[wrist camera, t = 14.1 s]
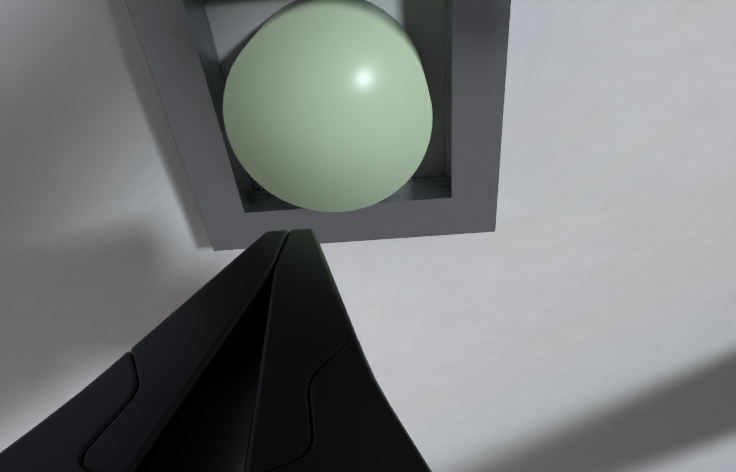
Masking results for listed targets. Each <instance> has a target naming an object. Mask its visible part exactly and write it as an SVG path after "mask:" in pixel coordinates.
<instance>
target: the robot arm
mask: <svg viewBox="0 0 736 472" xmlns="http://www.w3.org/2000/svg"><path fill="white" fill-rule="evenodd" d="M0 472H432V471H431V470H430V468H429V467H428V465H427V463H426V462H425V460H424V459H423V457H422V455H421V454H420V452H419V451H418V449H417V447H416V446H415V444H414V443H413V441H412V439H411V438H410V436H409V435H408V433H407V431H406V430H405V428H404V427H403V425H402V423H401V422H400V420H399V419H398V417H397V415H396V414H395V412H394V411H393V409H392V407H391V406H390V404H389V402H388V400H387V399H386V397H385V395H384V393H383V392H382V390H381V388H380V386H379V384H378V383H377V381H376V379H375V377H374V375H373V372H372V370H371V368H370V366H369V364H368V362H367V359H366V357H365V355H364V352H363V350H362V347H361V345H360V342H359V340H358V339H357V336H356V333H355V331H354V328H353V326H352V323H351V321H350V318H349V316H348V313H347V311H346V308H345V306H344V303H343V301H342V298H341V296H340V293H339V291H338V288H337V286H336V283H335V281H334V278H333V276H332V274H331V271H330V269H329V266H328V264H327V261H326V259H325V256H324V254H323V251H322V249H321V246H320V244H319V241H318V239H317V236H316V234H315V231H314V230H313V229H312V228H302V229H293V230H291V231H288V230H276V231H267V232H266V233H264V234H263V235H262V236H261V237H260V238H259V239H257V240H256V241H255V242H254V243H253V244H252V245H250V246H249V247H248V248H247V249H246V250H245V251H244V252H242V253H241V254H240V255H239V256H238V257H237V258H235V259H234V260H233V261H232V262H231V263H230V264H229V265H227V266H226V267H225V268H224V269H223V270H222V271H220V272H219V273H218V274H217V275H216V276H215V277H214V278H212V279H211V280H210V281H209V282H208V283H207V284H205V285H204V286H203V287H202V288H201V289H200V290H199V291H197V292H196V293H195V294H194V295H193V296H192V297H190V298H189V299H188V300H187V301H186V302H185V303H184V304H182V305H181V306H180V307H179V308H178V309H177V310H175V311H174V312H173V313H172V314H171V315H170V316H169V317H167V318H166V319H165V320H164V321H163V322H162V323H160V324H159V325H158V326H157V327H156V328H155V329H154V330H152V331H151V332H150V333H149V334H148V335H147V336H145V337H144V338H143V339H142V340H141V341H140V342H138V343H137V344H136V345H135V346H134V347H133V348H132V349H131V352H127V353H126V354H124V355H123V356H122V357H121V358H120V359H119V360H118V361H116V362H115V363H114V364H113V365H112V366H111V367H109V368H108V369H107V370H106V371H105V372H103V373H102V374H101V375H100V376H99V377H97V378H96V379H95V380H94V381H93V382H91V383H90V384H89V385H88V386H87V387H85V388H84V389H83V390H82V391H81V392H79V393H78V394H77V395H76V396H74V397H73V398H72V399H70V400H69V401H68V402H67V403H65V404H64V405H63V406H61V407H60V408H59V409H58V410H56V411H55V412H54V413H52V414H51V415H50V416H49V417H47V418H46V419H45V420H43V421H42V422H41V423H39V424H38V425H37V426H35V427H34V428H33V429H31V430H30V431H29V432H27V433H26V434H25V435H23V436H22V437H21V438H19V439H18V440H17V441H15V442H14V443H13V444H11V445H10V446H9V447H7V448H6V449H5V450H3V451H2V452H1V453H0Z"/></svg>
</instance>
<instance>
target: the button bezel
mask: <svg viewBox="0 0 736 472" xmlns="http://www.w3.org/2000/svg"><path fill="white" fill-rule="evenodd" d="M126 3H127V6H128V9H129V12H130V15H131V17H132V20H133V23H134V26H135V29H136V31H137V34H138V37H139V40H140V43H141V46H142V48H143V51H144V54H145V57H146V60H147V63H148V65H149V68H150V71H151V74H152V77H153V80H154V82H155V85H156V88H157V91H158V94H159V97H160V99H161V102H162V105H163V108H164V111H165V113H166V116H167V119H168V122H169V125H170V128H171V130H172V133H173V136H174V139H175V142H176V145H177V147H178V150H179V153H180V156H181V159H182V162H183V164H184V167H185V170H186V173H187V176H188V179H189V181H190V184H191V187H192V190H193V193H194V195H195V198H196V201H197V204H198V207H199V210H200V212H201V215H202V218H203V221H204V224H205V227H206V229H207V232H208V235H209V238H210V241H211V244H212V246H213V249H214V251H219V250H233V249H247V248H248V247H249V246H250V245H252V244H253V243H254V242H255V241H256V240H257V239H259V238H260V237H261V236H262V235H263V234H264V233H266V232H267V231H276V230H288V231H291V230H293V229H302V228H312V229H313V230H314V231H315V234H316V236H317V239H318V241H319V244H320V243H334V242H349V241H363V240H378V239H392V238H407V237H421V236H436V235H450V234H464V233H479V232H493V231H495V224H496V210H497V195H498V181H499V166H500V151H501V137H502V122H503V107H504V93H505V78H506V64H507V49H508V34H509V20H510V5H511V0H446V176H436V177H423V178H411V179H409V180H408V181H407V182H406V183H405V184H404V185H403V186H402V187H401V188H400V189H398V190H397V191H396V192H395V193H393V194H392V195H390V196H389V197H387V198H385V199H384V200H382V201H380V202H378V203H376V204H373V205H370V206H368V207H365V208H361V209H357V210H353V211H345V212H322V211H314V210H309V209H305V208H302V207H298V206H295V205H293V204H290V203H288V202H286V201H284V200H281V199H280V198H278V197H276V196H275V195H273V194H271V193H270V192H268V191H267V190H256V191H254V190H253V186H252V183H251V179H250V175H249V173H248V172H247V171H246V170H245V169H244V167H243V166H242V164H241V163H240V161H239V160H238V158H237V157H236V155H235V153H234V151H233V149H232V147H231V145H230V142H229V139H228V136H227V133H226V129H225V124H224V117H223V96H224V90H225V82H224V79H223V75H222V71H221V67H220V64H219V60H218V56H217V53H216V49H215V45H214V41H213V38H212V34H211V30H210V27H209V23H208V19H207V15H206V12H205V8H204V4H203V1H202V0H126Z"/></svg>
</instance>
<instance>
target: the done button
mask: <svg viewBox="0 0 736 472" xmlns="http://www.w3.org/2000/svg"><path fill="white" fill-rule="evenodd" d="M223 117H224V124H225V129H226V133H227V136H228V139H229V142H230V145H231V147H232V149H233V151H234V153H235V155H236V157H237V158H238V160H239V161H240V163H241V164H242V166H243V167H244V169H245V170H246V171H247V172H248V173H249V175H250V176H251V177H252V178H253V179H254V180H255V181H256V182H257V183H258V184H259V185H261V186H262V187H263V188H264V189H266V190H267V191H268V192H270V193H271V194H273V195H275V196H276V197H278V198H280V199H281V200H284V201H286V202H288V203H290V204H293V205H295V206H298V207H302V208H305V209H309V210H314V211H322V212H345V211H353V210H357V209H361V208H365V207H368V206H370V205H373V204H376V203H378V202H380V201H382V200H384V199H385V198H387V197H389V196H390V195H392V194H393V193H395V192H396V191H397V190H398V189H400V188H401V187H402V186H403V185H404V184H405V183H406V182H407V181H408V180H409V179H410V178H411V176H412V175H413V174H414V173H415V171H416V170H417V168H418V167H419V165H420V163H421V161H422V159H423V157H424V155H425V153H426V150H427V147H428V144H429V141H430V136H431V131H432V117H433V115H432V104H431V99H430V95H429V90H428V86H427V82H426V78H425V74H424V70H423V67H422V63H421V59H420V57H419V54H418V52H417V49H416V47H415V45H414V43H413V42H412V40H411V38H410V37H409V35H408V34H407V32H406V31H405V30H404V28H403V27H402V26H401V25H400V24H399V23H398V22H397V21H396V20H395V19H394V18H393V17H392V16H390V15H389V14H388V13H387V12H385V11H384V10H383V9H381V8H379V7H377V6H376V5H374V4H372V3H370V2H368V1H365V0H295V1H293V2H292V3H290V4H288V5H286V6H284V7H283V8H281V9H280V10H278V11H277V12H276V13H274V14H273V15H272V16H271V17H270V18H269V19H268V20H267V21H266V22H265V23H264V24H263V25H262V27H261V28H260V29H259V30H258V32H257V33H256V34H255V35H254V36H253V38H252V39H251V40H250V41H249V42H248V44H247V45H246V46H245V47H244V49H243V50H242V51H241V53H240V54H239V55H238V57H237V59H236V60H235V62H234V64H233V66H232V68H231V70H230V73H229V75H228V78H227V81H226V85H225V90H224V96H223Z"/></svg>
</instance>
